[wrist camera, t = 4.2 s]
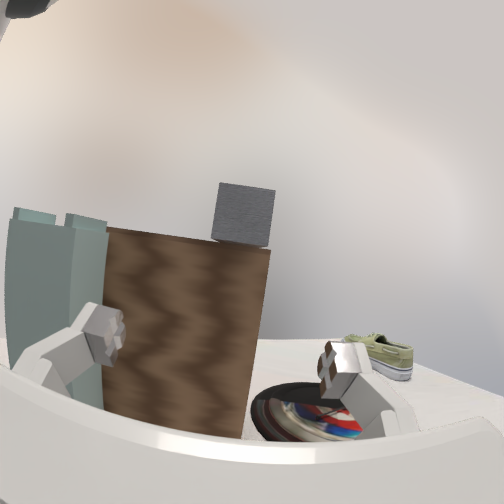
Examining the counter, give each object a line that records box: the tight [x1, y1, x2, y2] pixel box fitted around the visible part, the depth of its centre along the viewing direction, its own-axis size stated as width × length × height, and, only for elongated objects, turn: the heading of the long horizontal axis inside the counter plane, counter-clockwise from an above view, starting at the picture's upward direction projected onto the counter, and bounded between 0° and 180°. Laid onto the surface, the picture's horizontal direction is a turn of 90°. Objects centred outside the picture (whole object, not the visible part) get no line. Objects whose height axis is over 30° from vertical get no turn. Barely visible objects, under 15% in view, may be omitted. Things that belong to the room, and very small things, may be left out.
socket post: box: [5, 207, 109, 410], centre depth 21 cm, size 8×6×26 cm
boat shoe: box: [341, 333, 413, 381], centre depth 71 cm, size 10×29×9 cm, turn 20°
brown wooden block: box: [101, 227, 271, 439], centre depth 33 cm, size 22×13×26 cm, turn 93°
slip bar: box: [211, 183, 275, 248], centre depth 29 cm, size 4×22×4 cm, turn 3°
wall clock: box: [251, 382, 363, 442], centre depth 40 cm, size 27×5×30 cm
